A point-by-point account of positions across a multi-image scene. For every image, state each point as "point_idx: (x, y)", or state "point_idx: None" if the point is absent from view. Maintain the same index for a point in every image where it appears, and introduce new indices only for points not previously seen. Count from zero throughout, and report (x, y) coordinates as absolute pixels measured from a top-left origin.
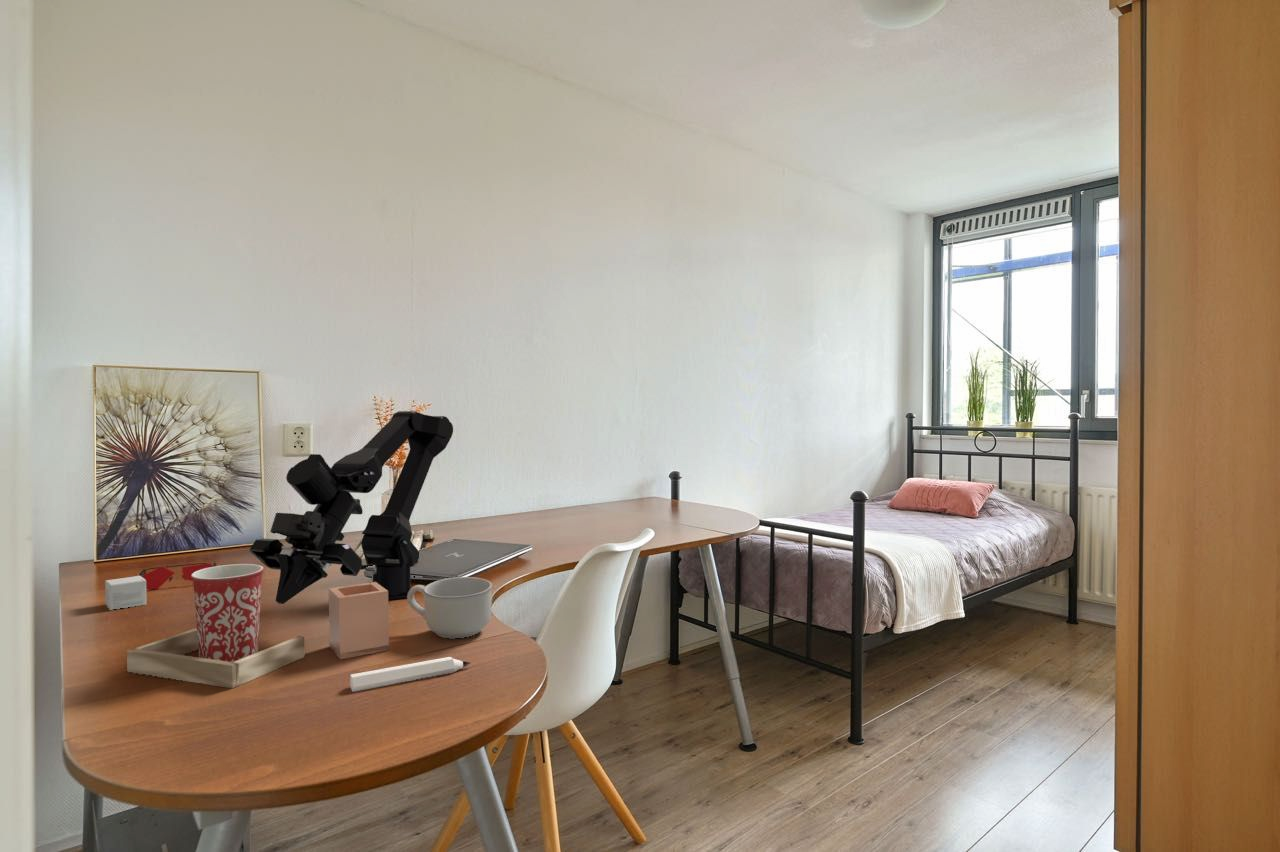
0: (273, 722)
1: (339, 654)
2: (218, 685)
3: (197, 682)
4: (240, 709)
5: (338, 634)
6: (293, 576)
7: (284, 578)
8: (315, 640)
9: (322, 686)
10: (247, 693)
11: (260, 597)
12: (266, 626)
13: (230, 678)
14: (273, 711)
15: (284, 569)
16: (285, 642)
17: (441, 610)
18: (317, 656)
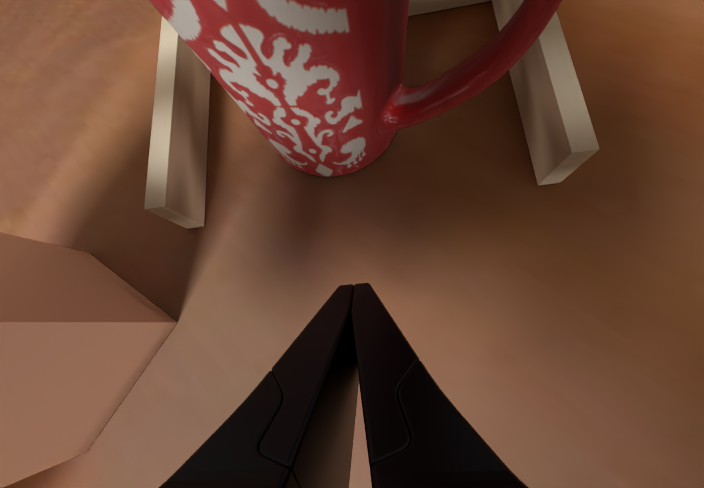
0: (33, 5)
1: (82, 254)
2: None
3: None
4: (114, 5)
5: (25, 244)
6: (265, 404)
7: (368, 377)
8: (260, 353)
9: (38, 125)
10: (152, 44)
11: (153, 4)
12: (580, 419)
13: None
14: (58, 25)
15: (426, 460)
16: (161, 149)
17: None
18: (158, 246)
